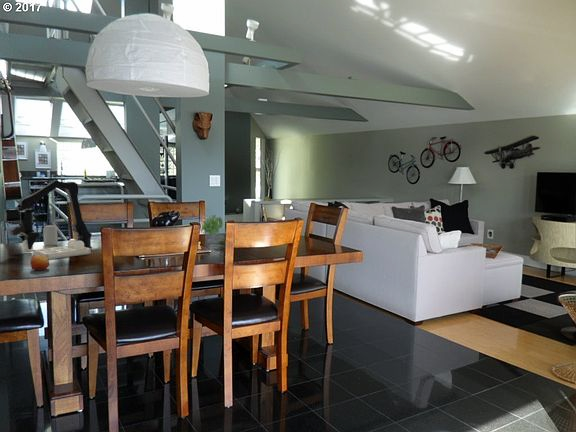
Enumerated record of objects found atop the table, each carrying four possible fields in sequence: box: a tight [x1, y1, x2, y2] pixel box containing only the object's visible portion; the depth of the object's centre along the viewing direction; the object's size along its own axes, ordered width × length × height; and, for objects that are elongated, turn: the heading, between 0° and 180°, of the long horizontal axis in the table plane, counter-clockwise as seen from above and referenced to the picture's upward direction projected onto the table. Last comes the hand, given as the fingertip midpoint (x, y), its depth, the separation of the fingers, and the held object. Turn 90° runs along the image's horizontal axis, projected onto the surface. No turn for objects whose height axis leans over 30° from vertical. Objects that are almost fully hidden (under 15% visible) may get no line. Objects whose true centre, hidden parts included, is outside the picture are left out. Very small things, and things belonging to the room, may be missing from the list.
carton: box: [32, 238, 92, 260], centre depth 250 cm, size 24×16×8 cm
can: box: [42, 224, 59, 247], centre depth 279 cm, size 8×8×12 cm
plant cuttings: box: [200, 214, 226, 244], centre depth 300 cm, size 35×17×22 cm
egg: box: [21, 240, 34, 253], centre depth 252 cm, size 5×5×7 cm
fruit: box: [30, 255, 51, 272], centre depth 213 cm, size 8×8×8 cm
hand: (27, 248), depth 252 cm, fingers closed on egg, 5 cm apart
